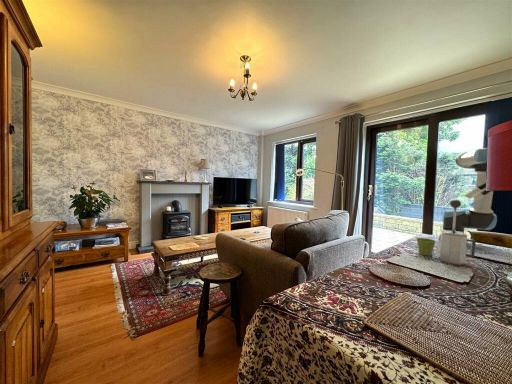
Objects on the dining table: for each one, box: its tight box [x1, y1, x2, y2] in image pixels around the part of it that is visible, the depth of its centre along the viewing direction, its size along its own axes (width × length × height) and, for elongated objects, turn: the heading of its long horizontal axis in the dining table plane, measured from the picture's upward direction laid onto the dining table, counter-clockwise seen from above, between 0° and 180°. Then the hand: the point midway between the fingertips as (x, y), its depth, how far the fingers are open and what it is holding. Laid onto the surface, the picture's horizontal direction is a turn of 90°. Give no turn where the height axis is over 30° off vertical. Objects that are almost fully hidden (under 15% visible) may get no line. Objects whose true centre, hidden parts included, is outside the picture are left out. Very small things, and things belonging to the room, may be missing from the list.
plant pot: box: [415, 237, 437, 257], centre depth 129 cm, size 9×9×9 cm
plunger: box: [449, 199, 462, 233], centre depth 117 cm, size 7×7×21 cm
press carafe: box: [438, 229, 476, 266], centre depth 117 cm, size 11×14×16 cm
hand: (470, 197), depth 113 cm, fingers open, 13 cm apart
